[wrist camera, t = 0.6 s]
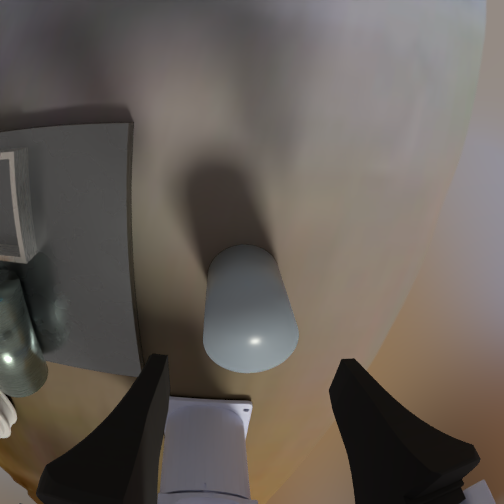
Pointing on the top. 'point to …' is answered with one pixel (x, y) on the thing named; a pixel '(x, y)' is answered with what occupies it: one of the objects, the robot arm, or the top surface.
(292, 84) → the top surface
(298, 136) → the top surface
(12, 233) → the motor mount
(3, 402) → the lid
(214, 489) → the robot arm
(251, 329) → the grey rounded capsule
